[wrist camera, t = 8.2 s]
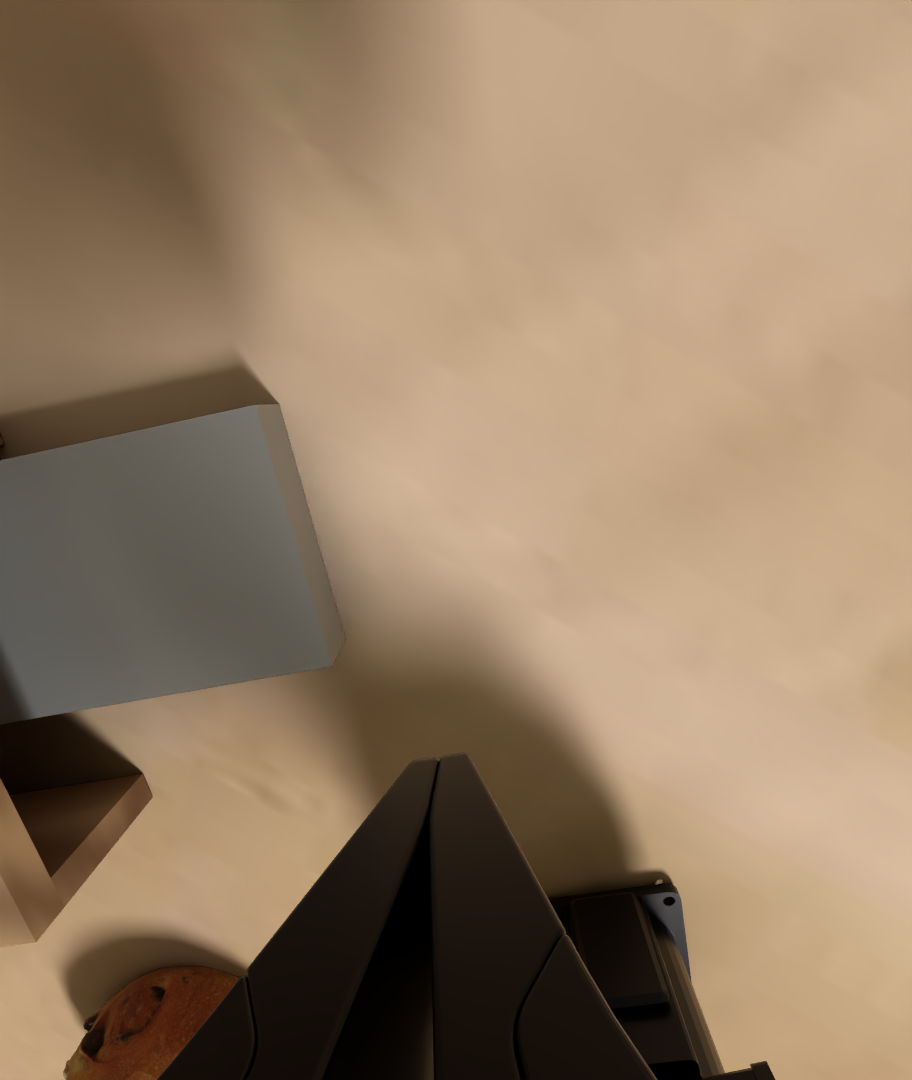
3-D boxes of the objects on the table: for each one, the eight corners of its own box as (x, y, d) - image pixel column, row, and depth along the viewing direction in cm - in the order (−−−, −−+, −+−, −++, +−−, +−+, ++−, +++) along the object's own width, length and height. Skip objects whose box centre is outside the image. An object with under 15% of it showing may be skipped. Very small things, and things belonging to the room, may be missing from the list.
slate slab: (348, 634, 21) (329, 669, 18) (-19, 700, 22) (-88, 741, 19) (284, 404, 19) (252, 404, 16) (-120, 491, 20) (-214, 506, 17)
